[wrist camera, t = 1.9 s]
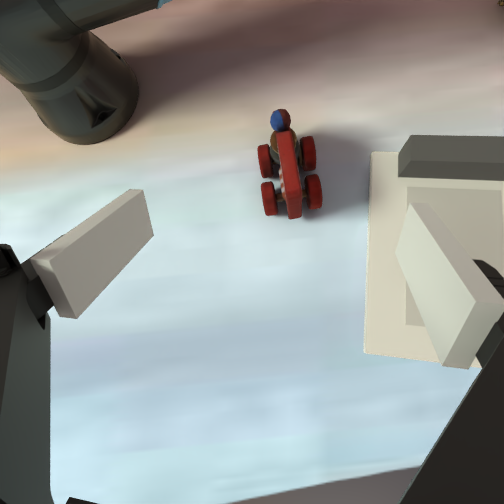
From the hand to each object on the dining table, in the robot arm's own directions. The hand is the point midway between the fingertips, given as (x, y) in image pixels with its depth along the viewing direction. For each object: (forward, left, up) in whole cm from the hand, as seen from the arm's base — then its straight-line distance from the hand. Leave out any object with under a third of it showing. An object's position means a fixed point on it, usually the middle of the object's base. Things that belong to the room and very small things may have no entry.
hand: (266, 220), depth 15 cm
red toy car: (-12, 0, -22) cm, 25 cm away
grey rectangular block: (-14, +19, -21) cm, 31 cm away
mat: (-4, +19, -22) cm, 29 cm away
